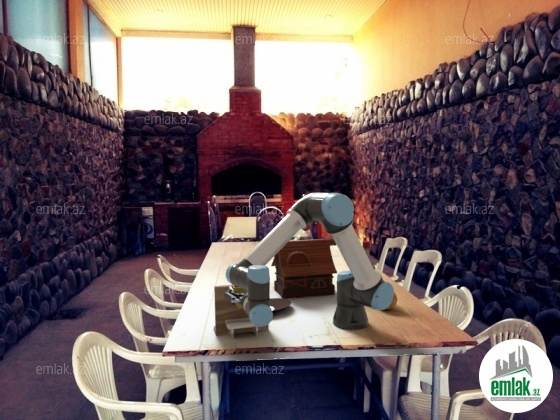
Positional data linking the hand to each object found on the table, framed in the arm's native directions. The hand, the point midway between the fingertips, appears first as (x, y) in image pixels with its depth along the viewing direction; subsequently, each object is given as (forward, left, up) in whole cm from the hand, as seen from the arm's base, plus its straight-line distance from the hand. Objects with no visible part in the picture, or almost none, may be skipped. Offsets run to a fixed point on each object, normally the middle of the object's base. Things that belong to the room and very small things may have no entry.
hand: (241, 288), depth 182 cm
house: (+17, -66, -19) cm, 71 cm away
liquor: (-16, -74, -19) cm, 78 cm away
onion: (-32, -65, -19) cm, 75 cm away
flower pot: (-4, +3, -6) cm, 8 cm away
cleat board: (0, 0, -19) cm, 19 cm away
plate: (+15, -29, -19) cm, 38 cm away
